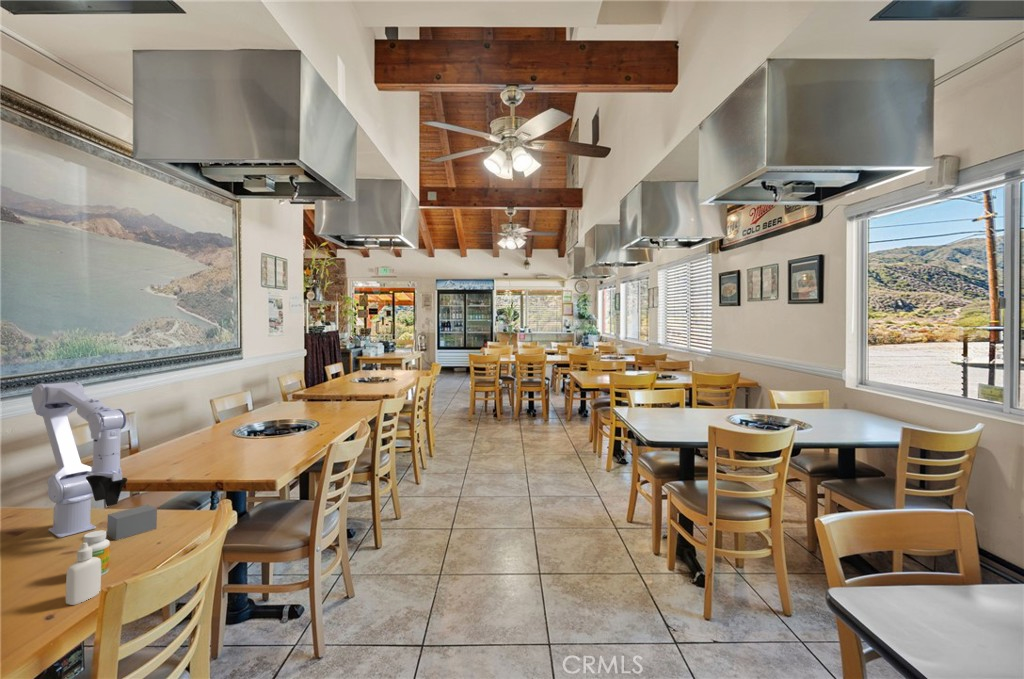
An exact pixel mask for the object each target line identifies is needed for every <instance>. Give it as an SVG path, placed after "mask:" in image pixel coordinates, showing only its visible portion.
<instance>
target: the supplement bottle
mask: <svg viewBox="0 0 1024 679" xmlns="http://www.w3.org/2000/svg"><path fill="white" fill-rule="evenodd" d="M86 542H87V544H88V547H92V557H98V558H100V559H101V577H102V576H104V575H106V574H107V573H108V572H109V571H110V556H111V555H110V553H111V552H110V548H111V541H110V540H108V539H107V530H93V531H89V532H88V533H86V534H84V535H83V543H86ZM82 545H83V544H82ZM82 545H80V547H79V549H81V548H82Z"/></svg>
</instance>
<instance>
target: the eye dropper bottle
mask: <svg viewBox="0 0 1024 679" xmlns="http://www.w3.org/2000/svg"><path fill="white" fill-rule="evenodd" d="M65 579H66V582H65V604H66V605H70V606H74V605H78V604H82V603H83V602H86V600H87V601H89V600H90V598H91V599H93V598H94V597H96V596H98V595H99V594H100V593H99V591H100V592H101V590H102V589H101V588H102V576H101V559H100V558H98V557H92V547H88V544H87V542H86V543H84V542H83V543H82V548H81V549H80V548H79V549H78V550H77V551H76V561H75V562H73V564H70V566H69V567H68V568H67V570H66V578H65ZM88 599H89V600H88ZM81 602H82V603H81Z"/></svg>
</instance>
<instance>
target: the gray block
mask: <svg viewBox="0 0 1024 679" xmlns="http://www.w3.org/2000/svg"><path fill="white" fill-rule="evenodd" d="M157 518H158V508H157V507H155V506H152V505H150V504H143V505H140V506H137V507H132V508H128V509H124V510H120V511H117V512H112V513H108V514H107V523H106V524H107V527H106V536H107V535H108V536H107V537H109V536H110V538H111V539H112V538H113V539H112V540H114V539H115V540H114V541H119V539H120V540H123V539H126V537H127V538H129V536H130V537H133V536H136V535H135V534H137V535H140V534H143V533H142V532H144V533H146V532H145V531H147V532H150V531H153V530H152V529H154V530H157V524H158V523H157V522H158V520H157ZM149 530H150V531H149ZM139 533H140V534H139ZM132 535H133V536H132ZM122 538H123V539H122Z"/></svg>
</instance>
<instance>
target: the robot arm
mask: <svg viewBox="0 0 1024 679" xmlns="http://www.w3.org/2000/svg"><path fill="white" fill-rule="evenodd" d="M30 398H31V402H32V405H33V410H34V411H35V414H36V415H37V416H40V417H42V418H43V421H44V425H45V428H46V432H47V436H48V440H49V443H50V447H51V450H52V453H53V457H54V461H55V463H56V468H57V470H56V471H55V472H54V473H53V474H52V475H51V476H50V477H48V479H47V497H48V499H49V500H50V501H51V502H53V504H55V505H54V507H53V517H52V518H53V519H52V520H53V522H52V523H53V524H52V527H49V528H48V531H49V532H50V533H52V534H53V535H54V536H56V537H58V538H64V537H69V536H72V535H75V534H79V533H83V532H87V531H92V530H94V529H96V528H97V526H95V525H94V524H92V523H91V515H92V514H91V511H92V509H91V507H92V506H91V505H92V498H93V499H94V501H95V502H98V501H103V500H104V501H105V505H106V507H111V506H115V505H118V502H119V499H120V496H121V492H122V491H123V488H124V486H125V484H127V482H128V478H127V477H123V472H122V467H121V444H122V442H121V440H122V430H123V429H124V428H125V427H126V425H127V415H126V413H125V411H124V410H123V409H122V408H117V409H112V408H111V407H109V406H108V405H106V404H105V403H104V402H102V401H101V399H99V398H97V397H96V398H90V397H89V396H88V395H87V394H86V393H85V390H84V386H83V384H82V383H81V382H79V381H73V382H58V383H57V382H56V383H37V384H36V385H35V386H34V387H33V388H32V393H31V397H30ZM74 411H76V413H77V415H79V417H81V418H82V419H84V420H85V421H86V422H88V429H89V430H90V437H91V439H93V441H92V442H93V449H92V450H93V451H92V454H93V455H92V466H89V465H87V464H84V463H82V461H81V459H80V458H81V457H80V455H79V451H78V448H77V444H76V440H75V437H74V434H73V431H72V427H71V424H70V421H69V418H68V416H69V414H71V413H73V412H74Z"/></svg>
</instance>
